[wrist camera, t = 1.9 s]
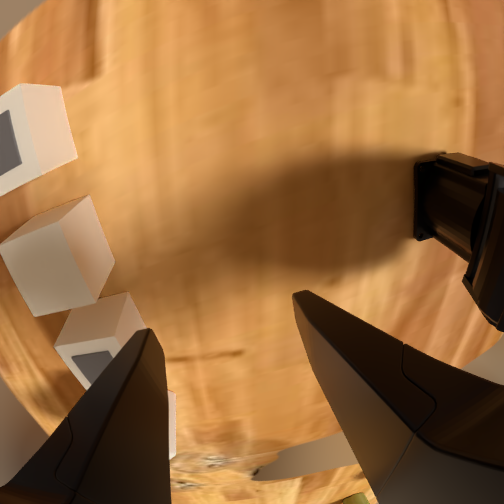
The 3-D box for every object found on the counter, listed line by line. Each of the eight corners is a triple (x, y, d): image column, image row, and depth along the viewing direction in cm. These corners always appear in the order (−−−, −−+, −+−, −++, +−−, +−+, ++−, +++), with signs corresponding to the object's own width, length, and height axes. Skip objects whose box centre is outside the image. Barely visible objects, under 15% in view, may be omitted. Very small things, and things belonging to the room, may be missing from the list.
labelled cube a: (153, 340, 23) (147, 390, 18) (100, 350, 23) (87, 396, 18) (128, 290, 21) (113, 338, 16) (72, 304, 20) (50, 349, 16)
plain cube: (115, 261, 19) (96, 303, 15) (60, 276, 19) (34, 317, 15) (89, 193, 17) (58, 221, 13) (33, 216, 17) (-3, 246, 12)
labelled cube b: (78, 157, 16) (40, 175, 11) (20, 184, 16) (-23, 209, 11) (61, 86, 14) (18, 83, 9) (3, 119, 13) (-44, 128, 9)
